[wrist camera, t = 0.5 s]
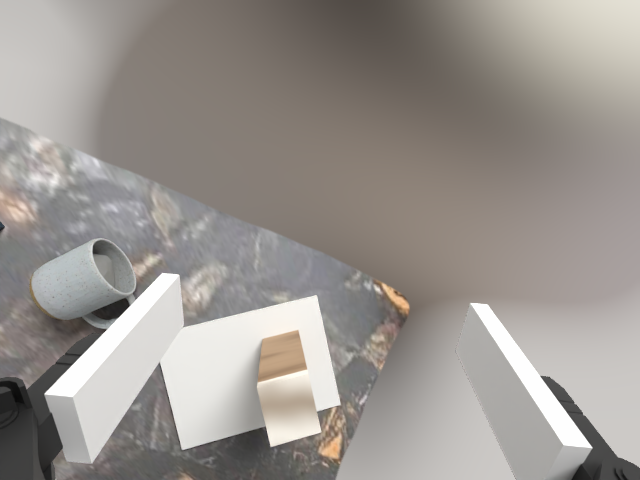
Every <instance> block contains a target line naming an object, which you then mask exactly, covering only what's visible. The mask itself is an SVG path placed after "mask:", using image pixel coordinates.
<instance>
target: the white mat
mask: <svg viewBox="0 0 640 480" xmlns="http://www.w3.org/2000/svg"><path fill="white" fill-rule="evenodd" d="M295 330H299V335H300V339H301V344H302V348H303V352H304V357H305V361H306V366H307V370H308V374H309V379H310V383H311V388H312V392H313V397H314V401H315V406H316V410H317V411H321V410H324V409H327V408H331V407H334V406H338V405H340V400H339V396H338V391H337V386H336V382H335V377H334V373H333V368H332V363H331V359H330V354H329V349H328V345H327V340H326V336H325V331H324V326H323V322H322V317H321V313H320V308H319V303H318V299H317V295H315V296H311V297H307V298H303V299H299V300H295V301H291V302H286V303H282V304H278V305H274V306H270V307H266V308H262V309H258V310H253V311H249V312H245V313H241V314H237V315H233V316H229V317H225V318H221V319H216V320H212V321H208V322H204V323H200V324H196V325H192V326H188V327H184V328H181V330H180V331H179V333H178V334H177V336H176V338H175V339H174V341H173V342H172V344H171V345H170V347H169V348H168V350H167V351H166V353H165V354H164V356H163V357H162V359H161V360H160V364H161V368H162V372H163V376H164V380H165V384H166V388H167V392H168V396H169V400H170V404H171V408H172V412H173V416H174V420H175V424H176V428H177V432H178V436H179V440H180V443H181V447H182V450H185V449H188V448H192V447H195V446H199V445H202V444H206V443H209V442H213V441H216V440H220V439H223V438H226V437H230V436H233V435H237V434H240V433H244V432H247V431H251V430H254V429H258V428H261V427H265V426H266V424H265V420H264V416H263V412H262V407H261V403H260V399H259V394H258V390H257V383H258V374H259V365H260V356H261V347H262V339H264V338H268V337H272V336H276V335H279V334H283V333H287V332H291V331H295Z"/></svg>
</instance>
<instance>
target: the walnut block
mask: <svg viewBox="0 0 640 480" xmlns="http://www.w3.org/2000/svg"><path fill="white" fill-rule="evenodd" d="M257 390H258V394H259V399H260V403H261V407H262V412H263V416H264V420H265V424H266V429H267V433H268V437H269V442H270V446H271V447H273V446H276V445H279V444H283V443H286V442H290V441H293V440H296V439H300V438H303V437H306V436H310V435H313V434H317V433H320V432H321V428H320V424H319V419H318V415H317V410H316V406H315V401H314V397H313V392H312V388H311V383H310V379H309V374H308V370H307V366H306V361H305V357H304V352H303V348H302V344H301V339H300V335H299V330H295V331H291V332H287V333H283V334H279V335H276V336H272V337H268V338H264V339H262V347H261V356H260V365H259V374H258V383H257Z"/></svg>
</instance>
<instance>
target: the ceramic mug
mask: <svg viewBox="0 0 640 480" xmlns="http://www.w3.org/2000/svg"><path fill="white" fill-rule="evenodd" d="M135 289H136V276H135V272H134V270H133V267H132V265H131V263H130V261H129V259H128V258H127V256H126V255H125V254H124V252H123V251H122V250H121V249H120V248H119V247H118V246H117V245H116V244H114V243H113V242H111V241H109V240H107V239H103V238H97V239H93V240H91V241H89V242H87V243H85V244H84V245H81V246H79V247H77V248H75V249H73V250H71V251H69V252H67V253H66V254H64V255H62V256H60V257H58V258H55V259H53V260H51V261H49V262H47V263H46V264H44V265H43V266H41V267H40V268H39V269H37V270H36V271H35V272H34V273H33V275H32V277H31V279H30V294H31V296H32V299H33V301H34V302H35V304H36V305H37V307H38V308H39V309H40V310H41V311H42V312H44V313H45V314H46V315H48V316H50V317H52V318H55V319H58V320H70V319H74V318H78V317H81V316H82V317H83V319H84V320H85V321H86V322H88V323H89V324H91V325H93V326H95V327H97V328H102V329H108V328H109V327H110V326H111V325H112V324H113V323H114V322H115V321H116V320H117V319H118V318H116V319H111V320H104V319H101V318H99V317H97V316H95V315H94V314H93V313H91V312H92V311H95V310H97V309H99V308H102V307H104V306H107V305H109V304H111V303H114V302H116V301H118V300H121V299H123V298H126V299H127V300H128V302H129V305H130V306H131V305H132V304H133V303H134V302H135V301H136V300H135V297H134V295H133V292H134V291H135Z"/></svg>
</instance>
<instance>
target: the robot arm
mask: <svg viewBox="0 0 640 480" xmlns="http://www.w3.org/2000/svg"><path fill="white" fill-rule="evenodd" d="M183 325H184V319H183V308H182V297H181V287H180V276H179V275H176V274H166V273H162V274H161V275H160V276H159V277H158V278H157V279H156V280H155V281H154V282H153V283H152V284H151V285H150V286H149V287H148V288H147V290H146V291H145V292H144V293H143V294H142V295H141V296H140V297H139V298H138V299H137V300H136V301H135V302H134V303H133V304H132V305H131V306H130V307H129V308H128V309H127V310H126V311H125V312H124V313H123V314H122V315H121V316H120V317H119V318H118V319H117V320H116V321H115V322H114V323H113V324H112V325H111V326H110V327H109V328H108V329H107V330H106V331H105V332H104V333H103V334H96V333H92V334H90V335H89V336H87V337H85V338H83V339H82V340H80V341H78V342H77V343H76V344H74V345H73V346H72V347H71V348H70V349H69V350H68V351H67V352H66V353H65V355H63V356H62V357H61V358H60V359H59V360H58V361H57V362H56V364H55V365H52V366H51V367H50V368H49V369H48V370H47V371H46V372H45V373H44V374H43V375H42V376H41V377H40V378H39V379H38V380H37V381H36V382H35V383H33V384H32V385H31V386H30V387H29V388H28V389H27V390H26V387H25V384H24V382H23V380H21V379H19V378H16V377H5V378H1V379H0V480H55V468H54V465H53V462H52V461H53V460H54V458H55V457H56V456H57V454H58V453H59V452H60V451H61V449H63V452H64V455H65V458H66V461H69V462H79V463H89V464H92V463H93V461H94V460H95V458H96V457H97V455H98V454H99V452H100V451H101V449H102V448H103V446H104V445H105V443H106V442H107V440H108V439H109V437H110V436H111V434H112V433H113V431H114V430H115V428H116V427H117V425H118V424H119V422H120V421H121V419H122V417H123V416H124V414H125V413H126V411H127V410H128V408H129V407H130V405H131V404H132V402H133V401H134V399H135V398H136V396H137V395H138V393H139V392H140V390H141V389H142V387H143V386H144V384H145V383H146V381H147V380H148V378H149V377H150V375H151V374H152V372H153V371H154V369H155V368H156V366H157V365H158V363H159V362H160V360H161V359H162V357H163V356H164V354H165V353H166V351H167V350H168V348H169V347H170V345H171V344H172V342H173V341H174V339H175V338H176V336H177V334H178V333H179V331H180V330H181V328H182V327H183ZM455 352H456V354H457V356H458V358H459V360H460V362H461V364H462V367H463V368H464V371H465V373H466V375H467V377H468V379H469V381H470V383H471V385H472V388H473V390H474V392H475V394H476V396H477V398H478V400H479V402H480V405H481V407H482V409H483V411H484V413H485V415H486V417H487V419H488V422H489V424H490V426H491V428H492V430H493V432H494V434H495V436H496V439H497V441H498V443H499V445H500V447H501V449H502V451H503V453H504V455H505V458H506V460H507V462H508V464H509V466H510V468H511V470H512V472H513V475H514V477H515V479H516V480H640V468H639V467H637V466H636V465H634V464H633V463H631V462H628V461H626V460H624V459H622V458H618V457H617V456H616V455H615V453H614V452H613V451H612V450H611V448H610V447H609V446H608V444H607V443H606V442H605V440H604V439H603V438H602V437H601V435H600V434H599V433H598V432H597V430H596V429H595V428H594V426H593V425H592V424H591V423H590V421H589V420H588V419H587V418H586V416H583V413H582V411H581V410H580V409H579V407H578V406H577V405H575V404H574V401H573V400H572V398H571V397H570V396H569V395H568V393H567V392H566V391H565V389H564V388H562V387H561V386H560V385H559V384H558V383H556V382H555V381H554V380H552V379H551V378H550V377H546V376H539V374H538V373H537V372H536V371H535V369H534V368H533V366H532V365H531V363H530V362H529V361H528V359H527V358H526V357H525V355H524V354H523V353H522V351H521V350H520V348H519V347H518V346H517V345H516V343H515V342H514V340H513V339H512V338H511V336H510V335H509V333H508V332H507V331H506V329H505V328H504V327H503V325H502V324H501V323H500V321H499V320H498V318H497V317H496V316H495V314H494V313H493V312H492V310H491V309H490V308H489V306H488V305H486V304H476V303H470V306H469V309H468V312H467V315H466V319H465V321H464V325H463V328H462V331H461V334H460V337H459V340H458V344H457V347H456V350H455Z"/></svg>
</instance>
